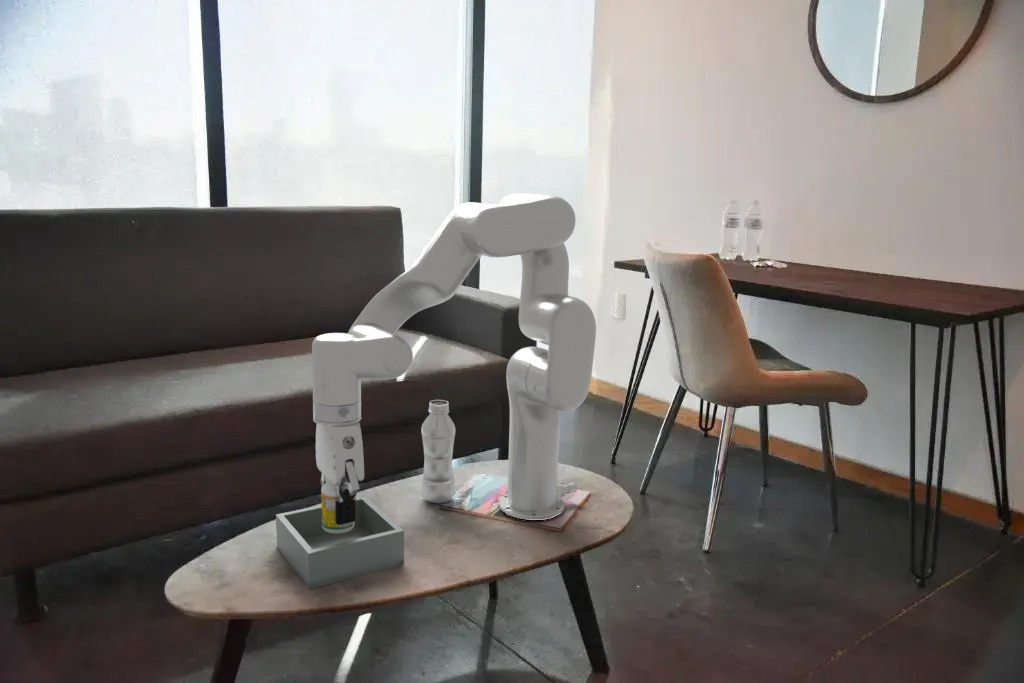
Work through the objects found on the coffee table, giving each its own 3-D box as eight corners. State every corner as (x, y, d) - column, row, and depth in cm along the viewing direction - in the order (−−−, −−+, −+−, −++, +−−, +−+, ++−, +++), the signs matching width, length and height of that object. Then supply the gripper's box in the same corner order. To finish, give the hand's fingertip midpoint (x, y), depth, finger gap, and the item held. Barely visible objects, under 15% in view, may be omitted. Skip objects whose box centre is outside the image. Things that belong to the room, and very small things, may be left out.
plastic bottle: (450, 509, 155) (451, 408, 151) (416, 505, 156) (416, 405, 152) (459, 495, 161) (460, 399, 157) (426, 492, 162) (427, 396, 158)
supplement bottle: (348, 535, 131) (347, 480, 129) (316, 532, 132) (315, 477, 130) (359, 521, 137) (358, 468, 134) (328, 519, 137) (327, 465, 135)
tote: (365, 527, 146) (364, 495, 145) (403, 564, 133) (403, 530, 132) (277, 547, 138) (275, 514, 136) (309, 589, 125) (308, 553, 123)
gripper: (380, 422, 125) (380, 530, 129) (339, 394, 139) (340, 493, 143) (334, 429, 121) (335, 541, 125) (296, 399, 135) (298, 501, 139)
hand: (338, 514), depth 134 cm, fingers closed on supplement bottle, 5 cm apart
